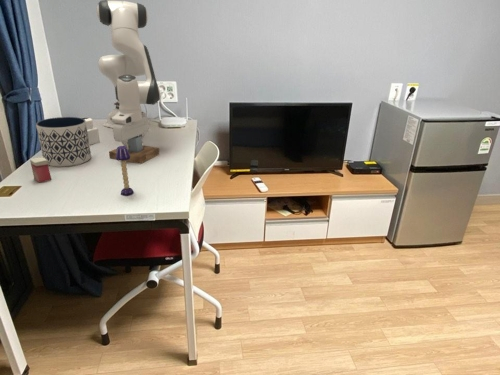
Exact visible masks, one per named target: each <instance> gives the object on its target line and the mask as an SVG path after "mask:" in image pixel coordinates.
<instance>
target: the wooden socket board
mask: <svg viewBox="0 0 500 375" xmlns="http://www.w3.org/2000/svg"><path fill="white" fill-rule="evenodd" d="M142 145H143V144H142ZM116 151H117V148H114V149H111V150H109V151H108V154H109V155H108V156H109V159H112V160H116ZM128 152H129V151H128ZM129 154H130V159H128V160H126V162H130V163H135V164H140V165H141V164H144V163H145V162H147V161H149V160H151V159H153V158H155V157H157V156H158V155H160V148H159V147H155V146H149V145H143V150H142V151H140V152H138V153H135V152H129Z"/></svg>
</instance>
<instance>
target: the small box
mask: <svg viewBox="0 0 500 375" xmlns="http://www.w3.org/2000/svg"><path fill="white" fill-rule="evenodd" d="M29 161H30V165H31V170H32V175H33V179H34V180H36V181H37V182H38V183H44V182H47V181H51V180H52V176H51V171H50V165H48V161H47V160H46V159H45V158H43V156H39V157H36V158H30V159H29Z"/></svg>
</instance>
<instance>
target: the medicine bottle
mask: <svg viewBox="0 0 500 375" xmlns="http://www.w3.org/2000/svg"><path fill="white" fill-rule="evenodd" d="M81 118H82V119H84V120H85V121H86V126H87V132H88V138H89V145H90V146H91V145H93V144H94V145H95V144H97V143H100V134H99V128H98V127H94V122H93V121H94V120H93V118H90V117H81Z"/></svg>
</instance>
